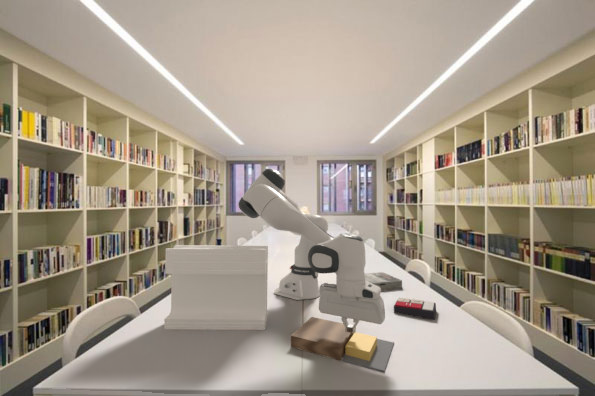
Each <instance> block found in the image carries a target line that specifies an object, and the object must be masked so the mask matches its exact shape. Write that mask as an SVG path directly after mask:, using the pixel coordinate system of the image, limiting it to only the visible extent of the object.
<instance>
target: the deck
mask: <svg viewBox="0 0 595 396" xmlns="http://www.w3.org/2000/svg"><path fill="white" fill-rule="evenodd" d="M353 334H354V333H350V332H345V326H344V324H343V322H337V321H333V320H329V319H323V318H320V317H319V318H318V317H315V316H314V317H313V316H311V317H310V318H308V319H307V320H306V322H304V323H303V324H302V325H301V326H300V327H299V328H298V329H296V331H294V332H293V333H292V334H290V348H294V349H296V350H297V349H298V350H301V351H304V352H309V353H313V354H316V355H319V356H322V357H327V358H330V359H333V360H337V361H342V359H343V357H344V355H345V346H346V344H347V343H348V342H349V340H350V339H351V337H352V336H353Z"/></svg>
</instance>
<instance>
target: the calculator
mask: <svg viewBox="0 0 595 396" xmlns="http://www.w3.org/2000/svg"><path fill="white" fill-rule="evenodd" d="M436 305H437V304H436V302H434V301H427V300H425V301H424V300H423V299H414V298H405V297H399V298H397V300H396V301H395V303H394V305H393V313H394V314H400V315H404V316H409V317H415V318H421V319H425V320H430V321H436V320H435V319H436V314H437V306H436Z"/></svg>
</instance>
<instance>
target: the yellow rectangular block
mask: <svg viewBox="0 0 595 396" xmlns="http://www.w3.org/2000/svg"><path fill="white" fill-rule="evenodd" d="M377 339H378V337H377V336H374V335H370V334H365V333H361V332H357V331H356V332H355V334H353V336H352V337H351V339H350V340H349V342H348V343H347V344H346V346H345V354H344V355H349V356H352V357H356V358H360V359H364V360H367V361H370V359H371V357H372V355H373V353H374V350H375V348H376V346H377Z"/></svg>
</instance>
